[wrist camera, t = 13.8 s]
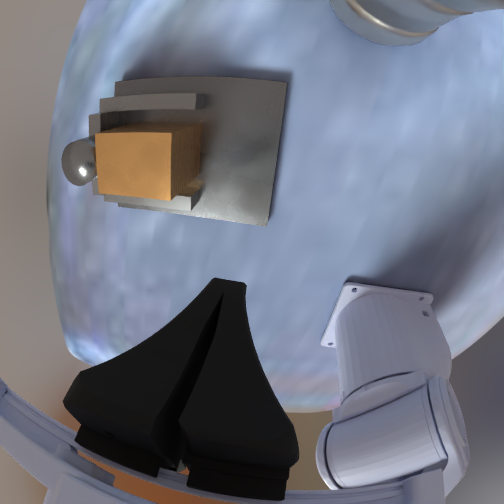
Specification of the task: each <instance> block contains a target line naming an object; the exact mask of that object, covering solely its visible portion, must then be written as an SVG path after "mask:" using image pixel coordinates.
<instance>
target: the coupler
mask: <svg viewBox="0 0 504 504" xmlns="http://www.w3.org/2000/svg"><path fill="white" fill-rule="evenodd" d="M286 89H287V83H285V82H278V81H270V80H261V79H250V78H236V77H214V76H181V77H159V78H146V79H135V80H126V81H118V82H115V95H114V97H111V98H103V99H100V113H96V114H91V115H89V137H86V138H83V139H80V140H77V141H75V142H72V143H70V144H68V145H67V146H66V148H65V149H64V151H63V154H62V168H63V172H64V174H65V176H66V178H67V179H68V180H69V181H70V182H71V183H72V184H74V185H77V186H82V185H85V184H86V183H88V182H90V181H92V185H93V194H94V195H104V201H107V202H117V203H118V207H127V208H135V209H144V210H152V211H160V212H167V213H175V214H182V215H190V216H197V217H204V218H211V219H218V220H225V221H232V222H239V223H245V224H252V225H258V226H265V227H267V224H268V217H269V211H270V204H271V197H272V190H273V183H274V176H275V169H276V162H277V155H278V148H279V141H280V133H281V126H282V119H283V112H284V104H285V97H286ZM136 122H185V123H202V132H201V147H200V165H199V175H198V176H197V177H196V178H195V179H194V180H193V181H192V182H190V183H189V184H188V185H187V186H186V187H185V188H184V189H183V190H182V191H181V192H180V193H179V194H177V195H176V196H175V197H174V198H173V199H172V200H171V201H167V200H158V199H150V198H141V197H131V196H121V195H111V194H100V193H99V189H98V179H97V166H96V147H95V134H96V133H99V132H102V131H106V130H109V129H113V128H116V127H120V126H124V125H128V124H132V123H136Z"/></svg>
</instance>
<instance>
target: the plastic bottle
mask: <svg viewBox="0 0 504 504" xmlns="http://www.w3.org/2000/svg"><path fill="white" fill-rule="evenodd" d="M329 1H330V4H331V7H332V9H333V11H334V12H335V14H336V16H337V17H338V18H339V19H340V21H341V22H342V23H343V24H344V25H345V26H347V27H348V28H349V29H350V30H352V31H353V32H354V33H356V34H357V35H359V36H361V37H363V38H365V39H367V40H369V41H372V42H374V43H378V44H382V45H389V46H406V45H413V44H417V43H420V42H421V41H423V40H424V39H426V38H427V37H429V36H430V35H432V34H433V33H434V32H435V31H436V30H437V29H438V28H439V27H440V26H442V25H444V24H446V23H448V22H450V21H451V20H453V19H455V18H457V17H459V16H462V15H467V14H472V13H474V12H483V11H489V10H496V9H504V0H329Z"/></svg>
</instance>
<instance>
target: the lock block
mask: <svg viewBox="0 0 504 504" xmlns="http://www.w3.org/2000/svg"><path fill="white" fill-rule="evenodd" d="M201 132H202V123H185V122H136V123H132V124H128V125H124V126H120V127H116V128H113V129H109V130H106V131H102V132H99V133H96V134H95V147H96V166H97V179H98V189H99V193H100V194H111V195H121V196H131V197H141V198H150V199H158V200H167V201H171V200H172V199H173V198H174V197H175V196H176V195H177V194H179V193H180V192H181V191H182V190H183V189H184V188H185V187H186V186H187V185H188V184H189V183H190V182H192V181H193V180H194V179H195V178H196V177H197V176H198V175H199V165H200V147H201Z"/></svg>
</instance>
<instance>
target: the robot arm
mask: <svg viewBox="0 0 504 504" xmlns="http://www.w3.org/2000/svg"><path fill="white" fill-rule="evenodd" d="M246 287H247V285H246V284H245V283H243V282H237V281H231V280H225V279H220V278H213V279H212V280H211V281H210V282H209V283H208V285H207V286H206V287H205V288H204V289H203V290H202V291H201V293H200V294H199V295H198V296H197V297H196V298H195V299H194V300H193V301H192V302H191V303H190V304H189V305H188V306H187V307H186V308H185V309H184V310H183V311H182V312H180V313H179V314H178V315H177V316H176V317H175V318H174V319H173V320H171V321H170V322H169V323H168V324H167V325H165V326H164V327H163V328H162V329H160V330H159V331H158V332H156V333H155V334H153V335H152V336H151V337H149V338H148V339H146V340H144V341H143V342H141V343H140V344H138V345H137V346H135V347H133V348H132V349H130V350H128V351H126V352H124V353H122V354H120V355H118V356H116V357H114V358H113V359H111V360H108V361H106V362H104V363H101V364H99V365H96V366H94V367H91V368H89V369H86V370H83V371H81V372H80V373H79V374H78V375H77V377H76V378H75V380H74V381H73V383H72V385H71V387H70V388H69V390H68V392H67V394H66V396H65V398H64V400H63V403H64V406H65V408H66V409H67V410H68V411H69V412H70V413H71V414H72V415H73V417H75V418H76V420H77V421H78V422H80V424H81V426H80V429H79V431H78V433H77V432H75V431H73V430H71V429H70V428H68V427H66V426H64V425H63V424H61V423H59V422H57V421H56V420H54V419H53V418H51V417H49V416H48V415H46V414H45V413H43V412H42V411H40V410H39V409H37V408H35V407H34V406H33V405H31V404H30V403H28V402H27V401H26V400H24V399H23V398H21V397H20V396H19V395H17V394H16V393H15V392H13V391H12V390H11V389H10V388H8V387H7V385H6V384H5V382H4V381H3V380H2V379H1V378H0V445H1V447H2V448H3V449H4V450H5V451H6V452H7V453H8V454H9V455H10V456H11V457H12V458H13V459H15V460H16V461H17V462H18V463H19V464H20V465H21V466H22V467H23V468H24V469H25V470H26V471H28V472H29V473H30V474H31V475H32V476H33V477H35V478H36V479H37V480H38V481H39V482H41V483H42V484H43V485H44V486H46V487H47V488H48V491H47V494H46V496H45V499H44V502H43V504H157V503H154V502H151V501H148V500H146V499H143V498H140V497H137V496H135V495H132V494H130V493H127V492H125V491H122V490H120V489H117V488H115V487H114V486H113V482H114V479H115V476H114V475H113V474H111V473H109V472H107V471H105V470H103V469H102V468H100V467H98V466H97V465H96V464H94V463H92V462H90V461H88V460H86V459H85V458H83V457H81V456H80V455H78V452H77V450H78V451H80V452H81V453H83V454H85V455H87V456H89V457H91V458H93V459H95V460H97V461H99V462H101V463H104V464H106V465H108V466H110V467H112V468H115V469H117V470H119V471H122V472H124V473H127V474H129V475H132V476H134V477H137V478H139V479H142V480H145V481H148V482H151V483H154V484H157V485H160V486H163V487H167V488H170V489H173V490H177V491H180V492H184V493H188V494H192V495H197V496H201V497H205V498H210V499H216V500H221V501H227V502H234V503H240V504H445V497H446V496H447V495H448V494H449V493H450V491H451V490H452V489H453V488H454V487H455V486H456V485H457V484H458V482H459V481H460V480H461V478H462V477H463V476H464V474H465V472H466V469H467V465H468V463H469V446H468V442H467V437H466V430H465V425H464V421H463V416H462V413H461V409H460V406H459V403H458V401H457V398H456V395H455V393H454V391H453V388H452V387H451V384H450V383H449V381H448V379H449V376H450V372H451V352H450V348H449V345H448V343H447V341H446V338H445V336H444V334H443V331H442V329H441V327H440V325H439V323H438V320H437V318H436V316H435V314H434V312H433V310H432V308H431V306H430V304H431V303H432V301H433V299H434V297H433V295H432V294H430V293H423V292H415V291H408V290H401V289H394V288H387V287H380V286H373V285H366V284H359V283H352V282H347V283H345V284H344V285H343V287H342V290H341V293H340V295H339V298H338V300H337V303H336V305H335V308H334V310H333V313H332V315H331V318H330V320H329V323H328V325H327V327H326V330H325V332H324V334H323V337H322V339H321V345H322V346H326V347H336V352H337V362H338V373H339V386H340V400H341V406H339V407H338V408H335V409H333V422H331V423H329V424H328V425H326V426H325V427H324V428H323V430H322V431H321V434H320V436H319V439H318V443H317V447H316V463H317V467H318V471H319V473H320V475H321V477H322V479H323V480H324V482H325V483H326V484H327V485H328V486H329V487H330V489H331V490H315V491H302V490H286V481H287V480H288V478H289V470H290V467H292V466H293V465H294V464H295V463H296V462H297V461H298V459H299V447H298V441H297V437H296V433H295V430H294V426H293V424H292V422H291V421H290V419H289V418H288V416H287V415H286V413H285V412H284V410H283V408H282V407H281V405H280V403H279V401H278V400H277V398H276V396H275V394H274V392H273V390H272V388H271V386H270V384H269V382H268V380H267V378H266V376H265V373H264V371H263V369H262V366H261V364H260V361H259V358H258V356H257V353H256V350H255V346H254V343H253V340H252V336H251V332H250V327H249V323H248V317H247V311H246V299H245V295H246ZM353 288H356V289H355V290H352V289H353ZM420 297H421V298H420ZM330 342H331V343H330ZM186 466H187V468H188V470H189V471H190V472H189V476H188V475H184V474H180V473H178V472H181V471H183V470H185V469H186Z"/></svg>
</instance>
